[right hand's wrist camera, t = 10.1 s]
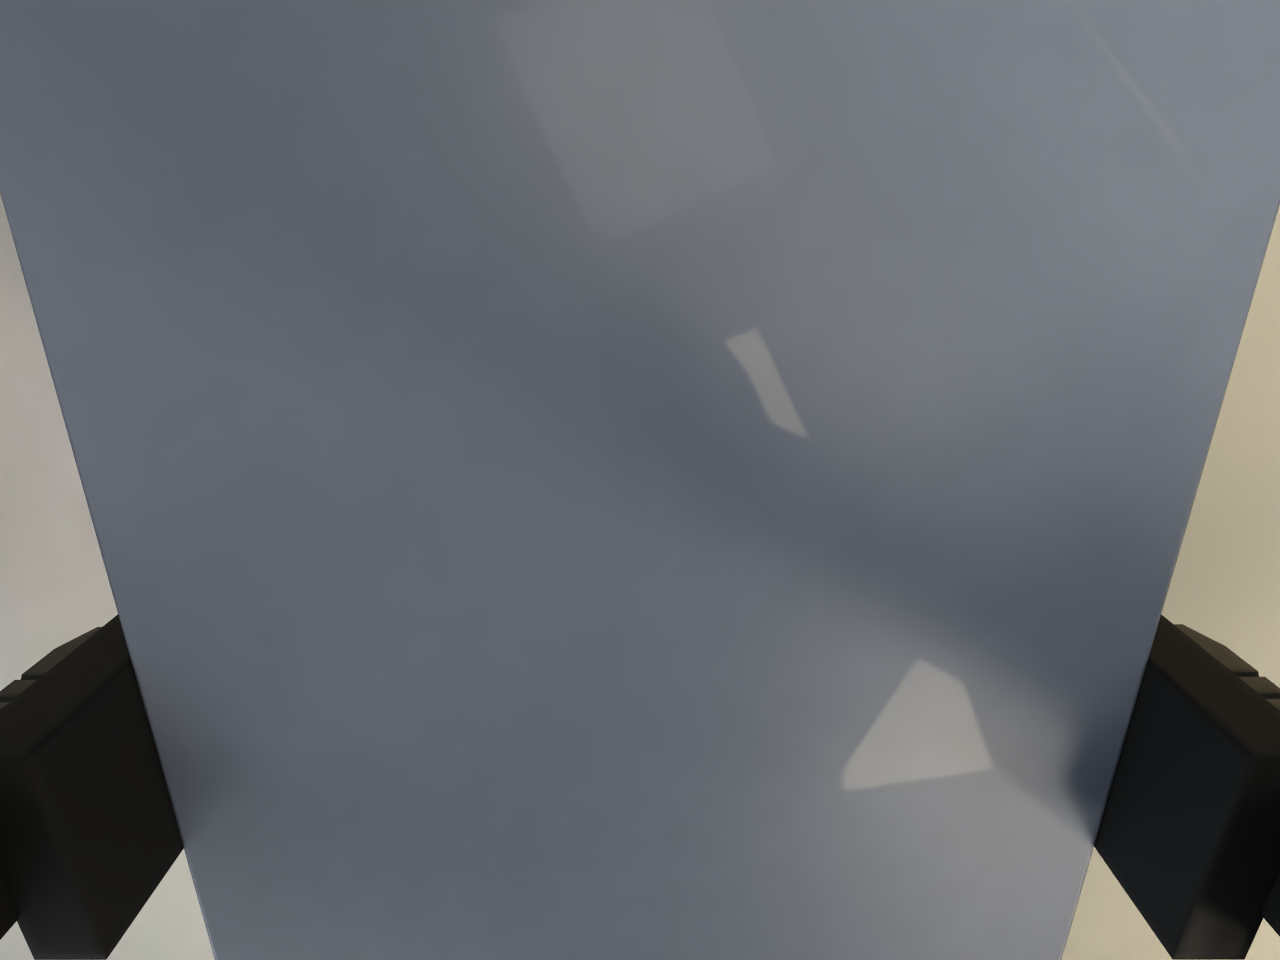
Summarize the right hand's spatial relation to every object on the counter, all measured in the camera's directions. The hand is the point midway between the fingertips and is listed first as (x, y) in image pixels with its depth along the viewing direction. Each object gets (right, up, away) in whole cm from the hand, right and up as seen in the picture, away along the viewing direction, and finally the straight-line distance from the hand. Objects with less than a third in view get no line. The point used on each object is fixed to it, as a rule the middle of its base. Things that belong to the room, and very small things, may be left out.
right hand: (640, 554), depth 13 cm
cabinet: (0, +6, +4) cm, 7 cm away
